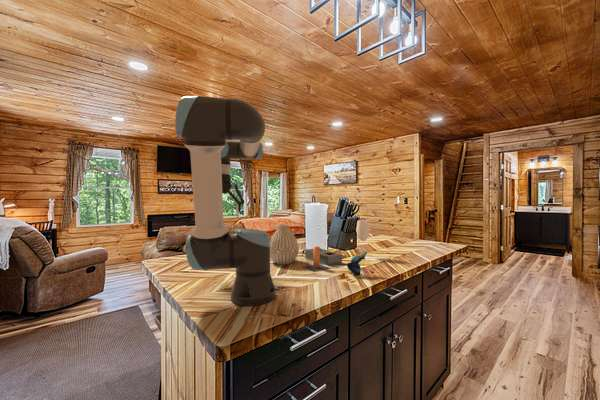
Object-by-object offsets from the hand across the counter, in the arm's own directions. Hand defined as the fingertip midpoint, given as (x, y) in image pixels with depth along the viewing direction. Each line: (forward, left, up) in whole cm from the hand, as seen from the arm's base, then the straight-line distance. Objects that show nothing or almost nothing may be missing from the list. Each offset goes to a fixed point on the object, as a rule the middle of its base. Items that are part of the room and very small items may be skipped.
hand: (222, 218), depth 123 cm
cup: (-19, -74, -24) cm, 80 cm away
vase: (-5, -30, -24) cm, 39 cm away
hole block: (-14, -49, -24) cm, 56 cm away
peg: (-23, -38, -24) cm, 50 cm away
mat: (-23, -38, -24) cm, 51 cm away
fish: (-41, -47, -24) cm, 67 cm away
